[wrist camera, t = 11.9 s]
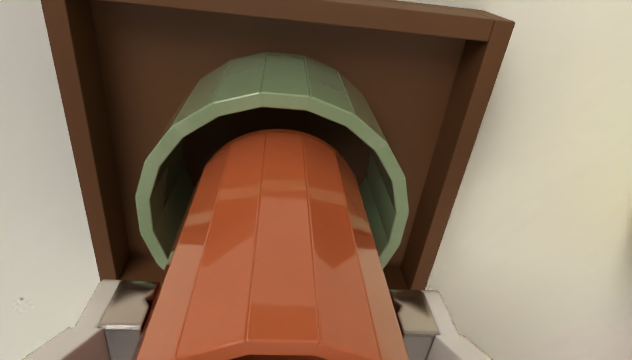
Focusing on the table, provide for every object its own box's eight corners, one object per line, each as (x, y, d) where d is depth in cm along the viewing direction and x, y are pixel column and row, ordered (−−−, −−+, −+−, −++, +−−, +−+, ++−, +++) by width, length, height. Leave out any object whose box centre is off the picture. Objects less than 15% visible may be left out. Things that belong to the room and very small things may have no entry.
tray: (121, 255, 23) (102, 293, 20) (71, -38, 15) (33, -33, 13) (407, 267, 25) (420, 302, 22) (484, 10, 17) (516, 21, 15)
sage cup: (181, 224, 22) (149, 312, 17) (168, 37, 17) (118, 79, 12) (359, 233, 23) (380, 317, 18) (395, 59, 18) (438, 107, 13)
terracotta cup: (199, 259, 17) (130, 515, 10) (193, 120, 14) (83, 337, 6) (345, 265, 18) (390, 507, 10) (371, 134, 15) (463, 344, 7)
